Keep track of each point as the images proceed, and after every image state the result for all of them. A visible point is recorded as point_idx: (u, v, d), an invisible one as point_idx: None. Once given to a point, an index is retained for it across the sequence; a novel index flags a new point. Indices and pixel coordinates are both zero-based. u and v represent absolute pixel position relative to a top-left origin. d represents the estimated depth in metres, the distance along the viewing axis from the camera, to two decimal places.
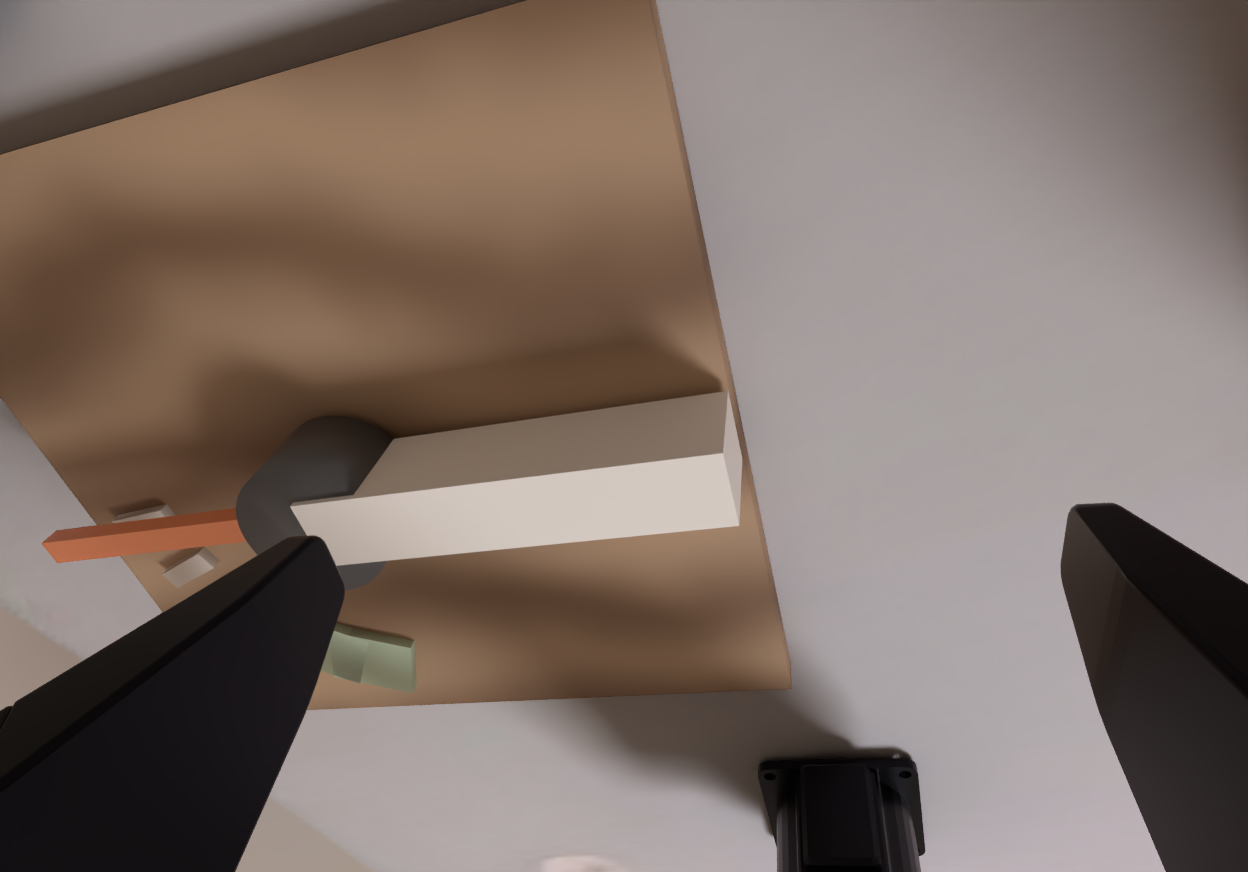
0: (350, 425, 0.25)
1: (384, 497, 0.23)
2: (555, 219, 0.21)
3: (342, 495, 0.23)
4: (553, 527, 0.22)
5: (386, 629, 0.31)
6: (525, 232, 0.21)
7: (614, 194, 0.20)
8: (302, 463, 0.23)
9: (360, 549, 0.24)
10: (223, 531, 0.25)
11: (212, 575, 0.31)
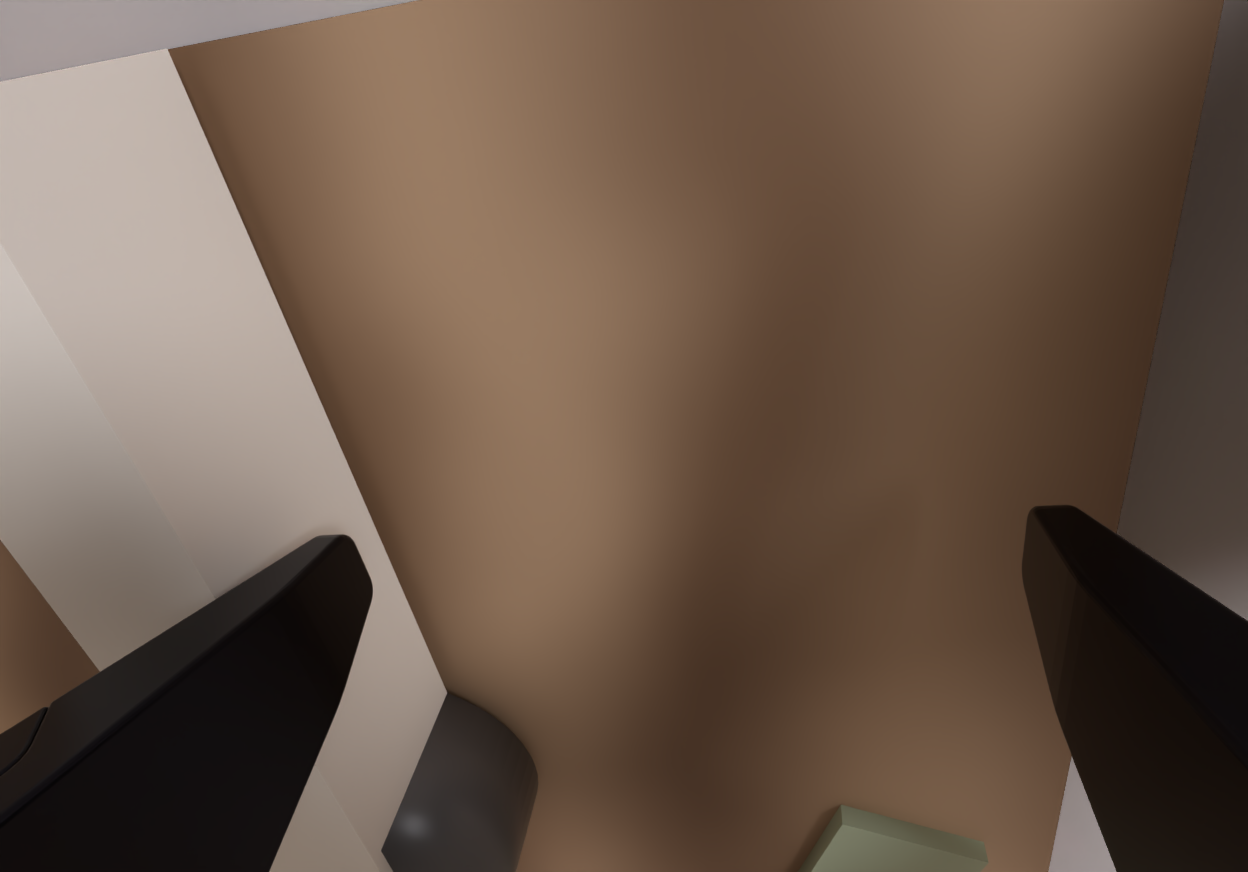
0: None
1: None
2: None
3: None
4: (160, 581, 0.09)
5: (804, 830, 0.16)
6: None
7: None
8: None
9: None
10: None
11: None
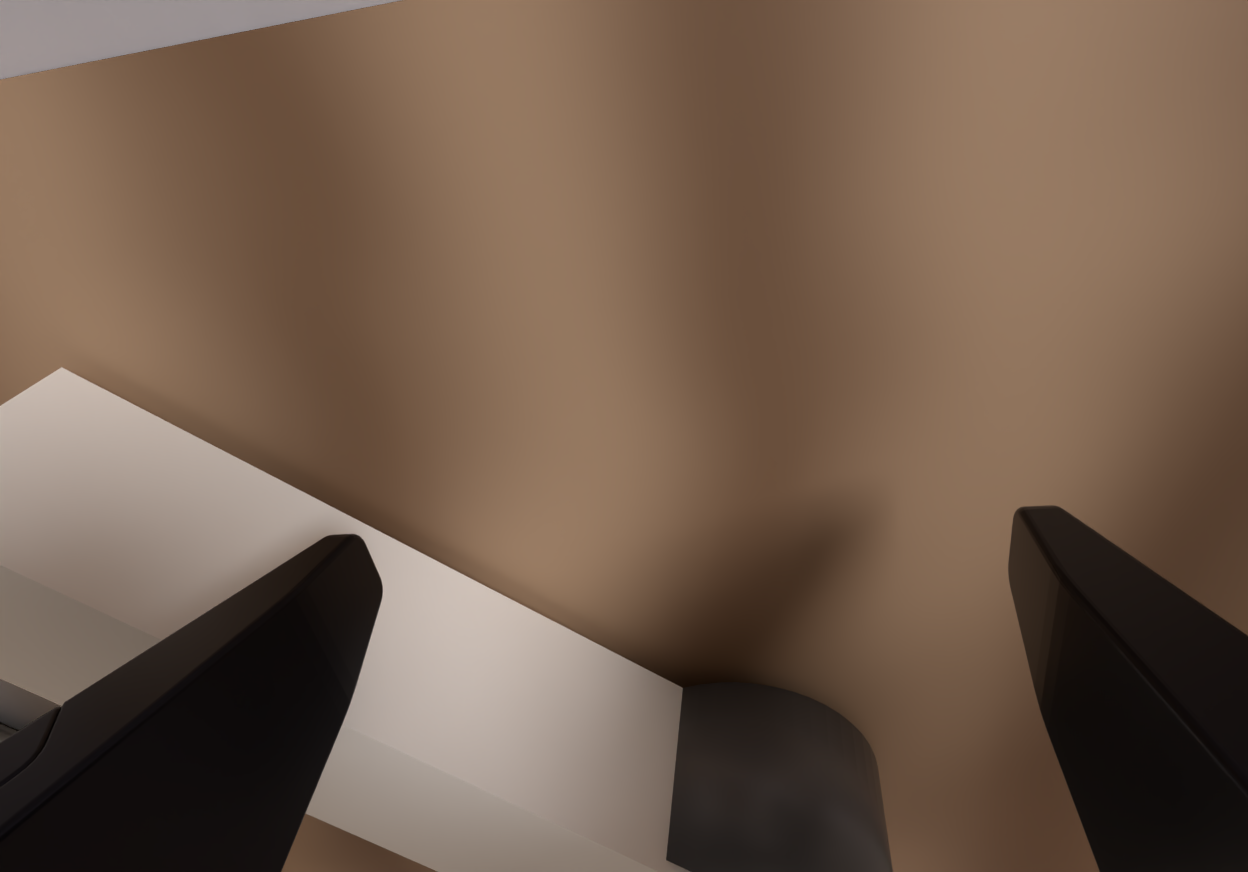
0: None
1: None
2: (201, 337, 0.11)
3: None
4: None
5: None
6: (239, 391, 0.12)
7: (123, 222, 0.10)
8: None
9: None
10: None
11: None
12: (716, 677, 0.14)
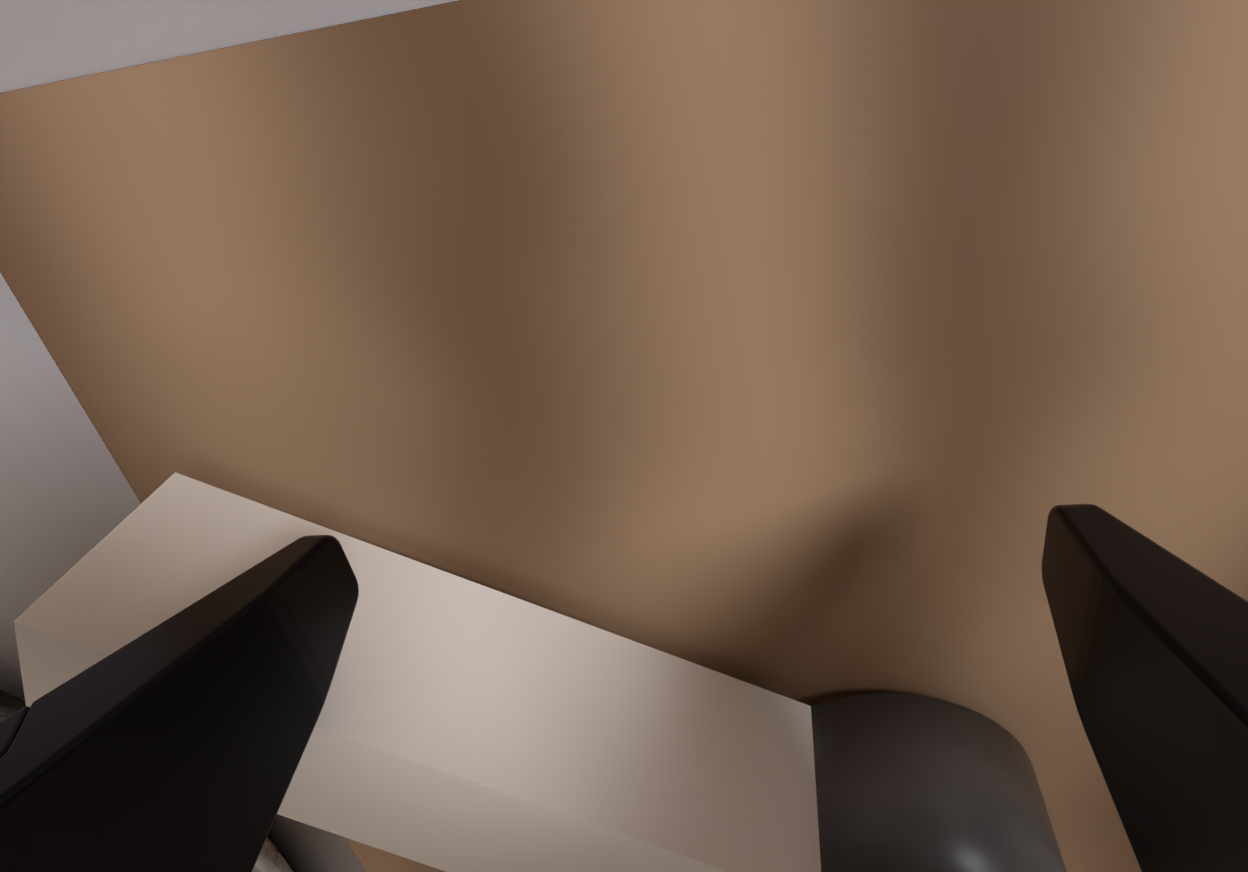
0: None
1: None
2: (356, 331, 0.11)
3: None
4: (403, 785, 0.10)
5: None
6: (390, 388, 0.11)
7: (287, 210, 0.10)
8: None
9: None
10: None
11: None
12: (867, 687, 0.13)
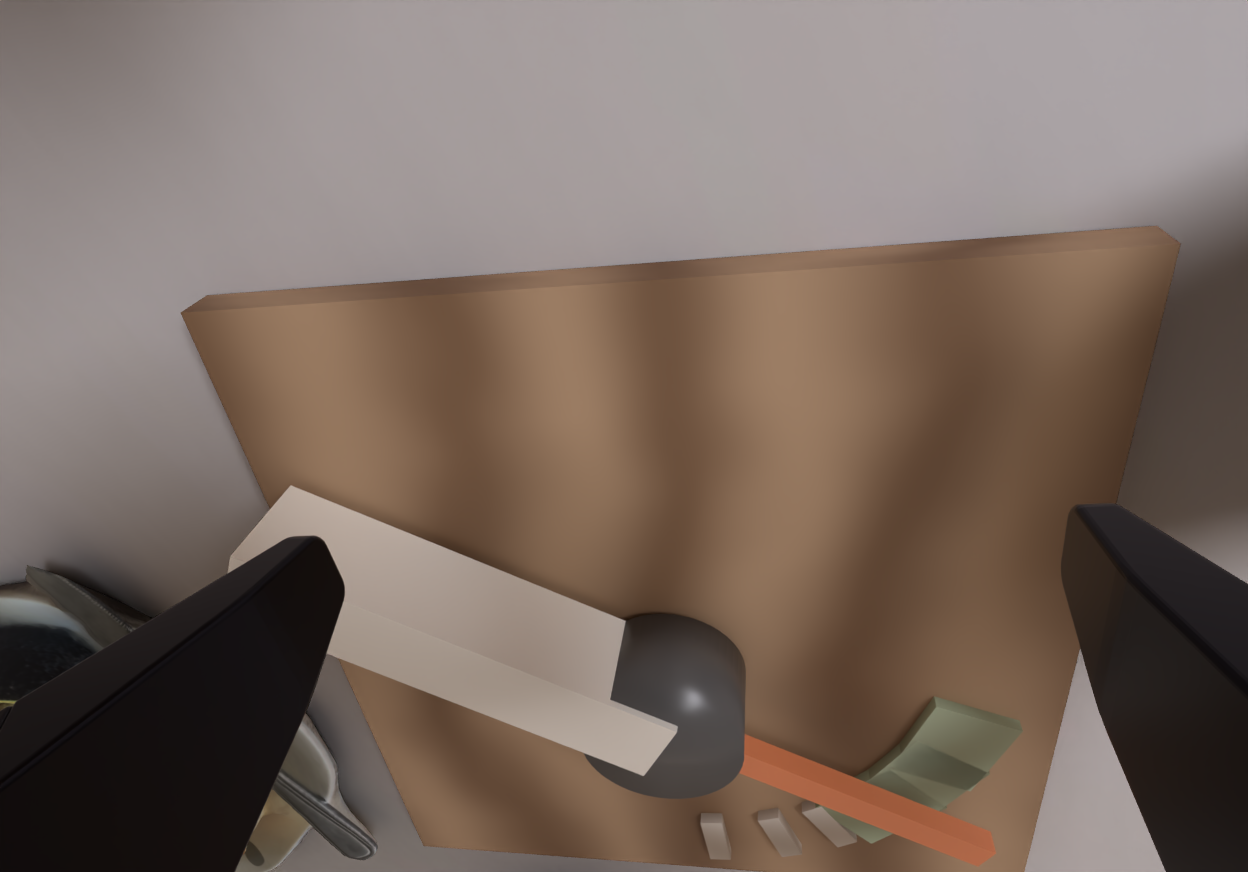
0: None
1: (546, 736, 0.23)
2: (392, 421, 0.22)
3: (592, 749, 0.23)
4: (409, 642, 0.22)
5: (908, 715, 0.25)
6: (407, 448, 0.22)
7: (364, 366, 0.21)
8: None
9: (620, 723, 0.22)
10: (771, 776, 0.24)
11: (797, 821, 0.29)
12: (656, 612, 0.24)
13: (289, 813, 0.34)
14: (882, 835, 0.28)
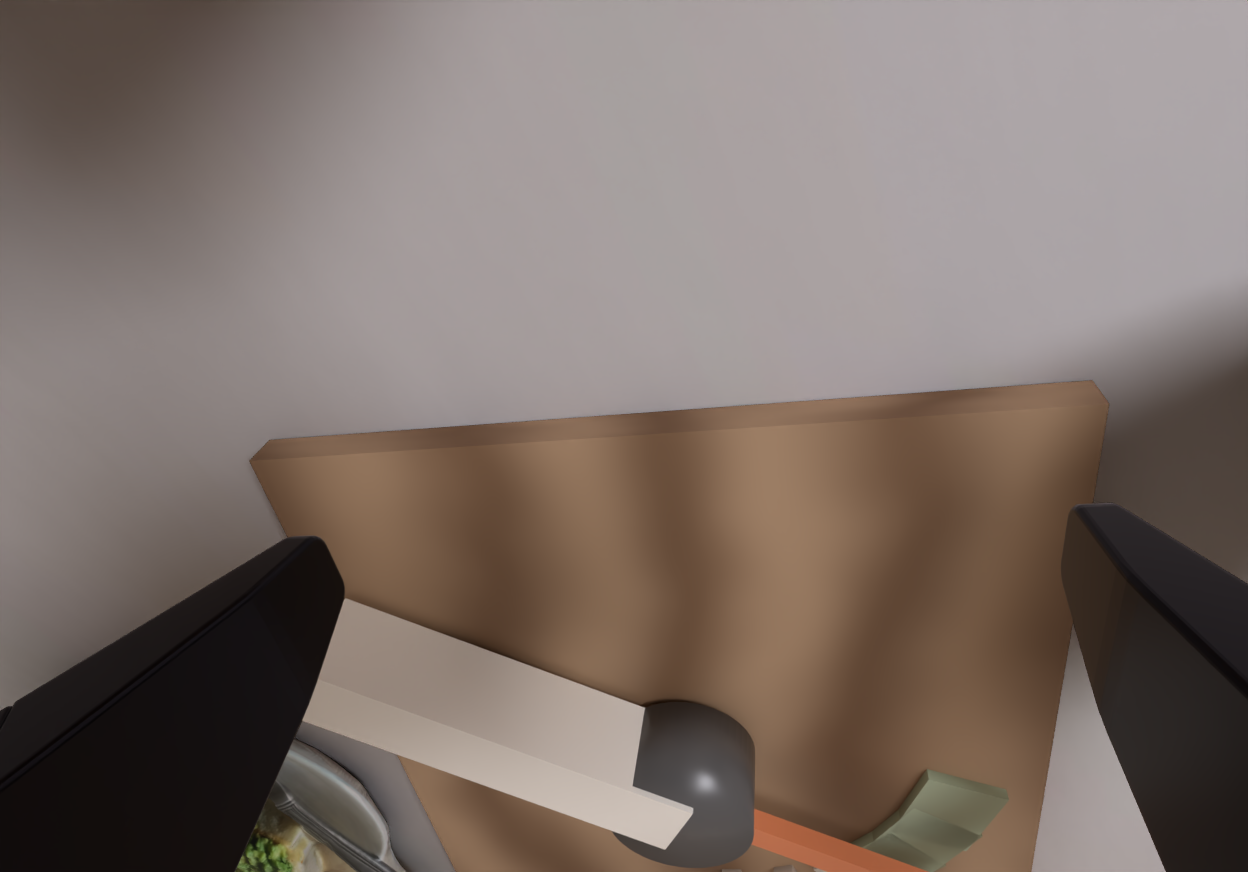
0: None
1: (577, 817, 0.26)
2: (433, 545, 0.25)
3: (618, 827, 0.26)
4: (454, 740, 0.25)
5: (904, 784, 0.28)
6: (447, 566, 0.25)
7: (407, 502, 0.24)
8: None
9: (642, 806, 0.25)
10: (779, 847, 0.26)
11: None
12: (672, 699, 0.27)
13: (346, 868, 0.38)
14: None
